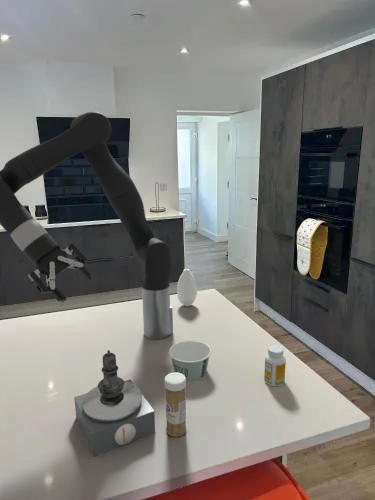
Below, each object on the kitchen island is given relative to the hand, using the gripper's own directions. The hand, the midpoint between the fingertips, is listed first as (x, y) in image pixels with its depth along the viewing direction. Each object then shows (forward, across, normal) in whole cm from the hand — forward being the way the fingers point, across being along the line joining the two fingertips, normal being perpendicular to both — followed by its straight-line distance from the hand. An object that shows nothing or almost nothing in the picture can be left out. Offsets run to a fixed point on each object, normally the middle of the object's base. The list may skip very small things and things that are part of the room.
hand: (77, 290), depth 96 cm
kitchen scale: (+29, -16, -4) cm, 33 cm away
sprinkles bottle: (+38, -10, -13) cm, 41 cm away
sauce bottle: (+34, +45, +33) cm, 65 cm away
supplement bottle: (+53, +18, -16) cm, 58 cm away
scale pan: (+25, -15, -6) cm, 30 cm away
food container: (+38, +10, +1) cm, 40 cm away
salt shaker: (+24, -14, -7) cm, 28 cm away
